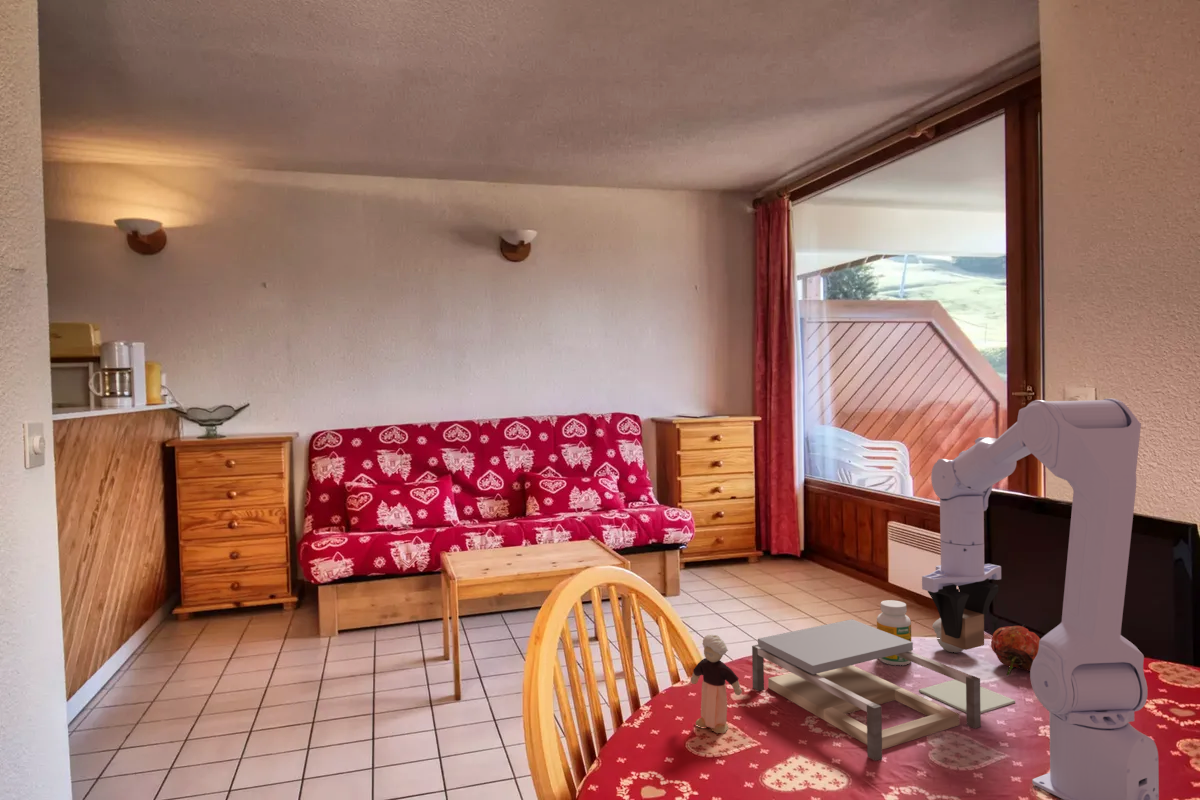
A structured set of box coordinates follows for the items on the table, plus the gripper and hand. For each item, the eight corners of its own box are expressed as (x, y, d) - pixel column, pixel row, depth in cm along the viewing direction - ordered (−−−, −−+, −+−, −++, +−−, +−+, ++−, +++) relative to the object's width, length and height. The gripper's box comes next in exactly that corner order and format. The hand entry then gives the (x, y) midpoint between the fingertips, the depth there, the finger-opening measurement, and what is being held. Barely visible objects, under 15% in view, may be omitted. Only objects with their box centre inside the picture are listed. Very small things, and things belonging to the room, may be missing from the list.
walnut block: (984, 645, 103) (983, 614, 103) (965, 650, 102) (965, 618, 102) (959, 636, 107) (959, 607, 107) (941, 641, 105) (941, 611, 105)
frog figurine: (982, 659, 119) (982, 617, 118) (938, 657, 120) (937, 616, 120) (970, 646, 125) (969, 606, 124) (927, 644, 126) (927, 605, 126)
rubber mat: (1015, 702, 102) (1015, 700, 102) (972, 715, 98) (972, 713, 98) (960, 679, 110) (960, 678, 110) (918, 691, 107) (918, 689, 107)
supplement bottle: (890, 652, 123) (889, 596, 122) (918, 661, 118) (917, 604, 118) (870, 659, 120) (869, 602, 120) (899, 669, 115) (898, 610, 115)
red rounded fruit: (1039, 696, 109) (1062, 645, 114) (1018, 663, 108) (1042, 613, 112) (993, 684, 116) (1016, 637, 120) (972, 653, 114) (996, 606, 118)
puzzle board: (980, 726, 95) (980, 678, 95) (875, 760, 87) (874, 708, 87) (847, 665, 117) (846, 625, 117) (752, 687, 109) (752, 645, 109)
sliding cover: (912, 650, 105) (912, 642, 105) (813, 674, 97) (812, 665, 97) (852, 626, 116) (852, 619, 116) (758, 646, 108) (757, 638, 108)
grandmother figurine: (683, 728, 97) (682, 635, 96) (693, 716, 100) (692, 626, 100) (739, 740, 93) (737, 644, 93) (747, 727, 96) (745, 634, 96)
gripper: (970, 531, 111) (972, 618, 111) (904, 541, 104) (905, 633, 105) (1014, 539, 104) (1015, 631, 105) (945, 551, 98) (947, 648, 98)
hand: (963, 633), depth 104 cm, fingers closed on walnut block, 4 cm apart
